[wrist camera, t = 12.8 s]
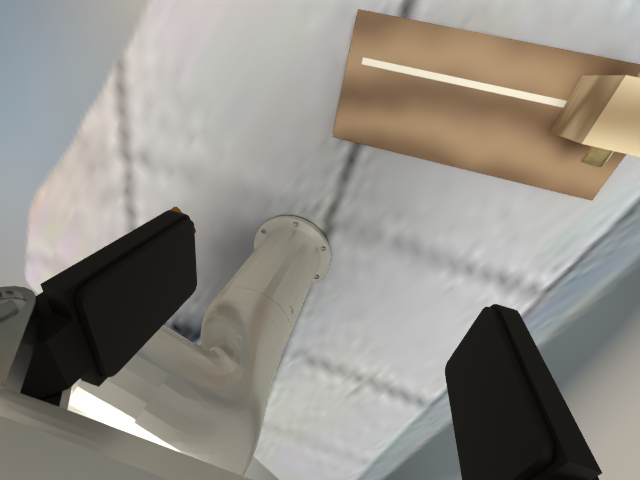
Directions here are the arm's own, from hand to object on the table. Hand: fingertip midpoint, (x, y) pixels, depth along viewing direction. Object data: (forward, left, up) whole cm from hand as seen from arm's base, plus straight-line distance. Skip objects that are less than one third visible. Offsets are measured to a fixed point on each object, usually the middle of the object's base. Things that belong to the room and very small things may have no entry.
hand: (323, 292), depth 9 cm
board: (+5, -10, -30) cm, 32 cm away
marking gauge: (+7, -19, -28) cm, 34 cm away
